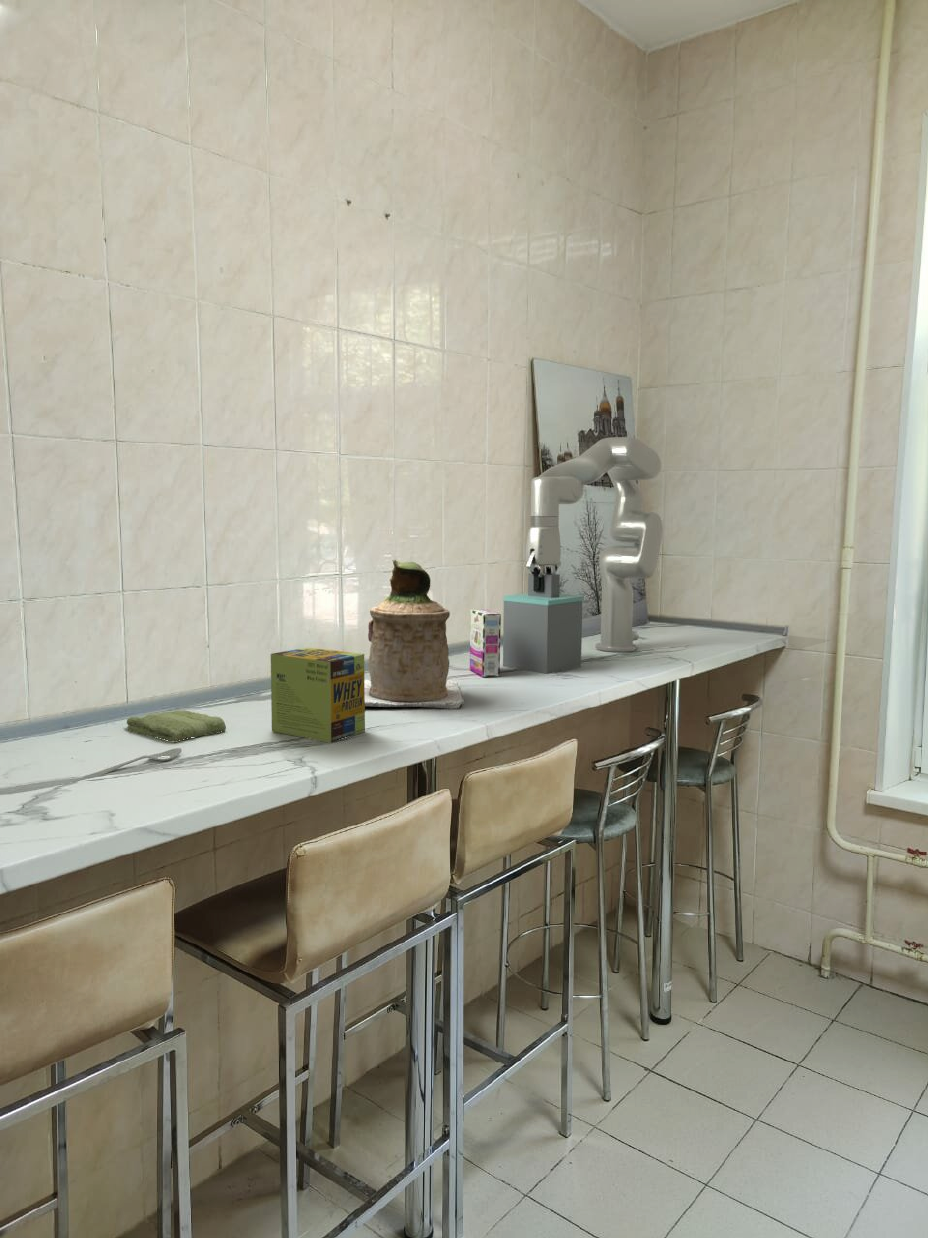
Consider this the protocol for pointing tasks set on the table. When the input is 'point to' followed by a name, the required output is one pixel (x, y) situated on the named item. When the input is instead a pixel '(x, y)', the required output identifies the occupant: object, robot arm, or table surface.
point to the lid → (544, 593)
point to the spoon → (171, 753)
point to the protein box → (318, 693)
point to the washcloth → (176, 725)
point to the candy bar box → (485, 643)
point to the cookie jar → (409, 646)
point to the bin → (542, 636)
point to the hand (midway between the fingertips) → (543, 590)
